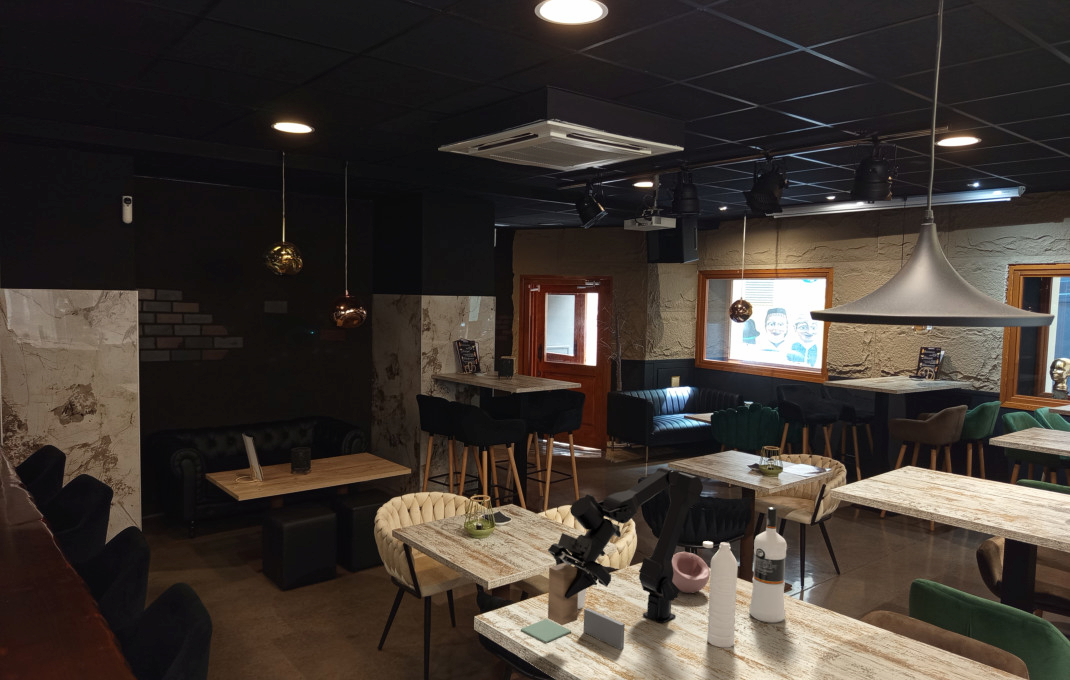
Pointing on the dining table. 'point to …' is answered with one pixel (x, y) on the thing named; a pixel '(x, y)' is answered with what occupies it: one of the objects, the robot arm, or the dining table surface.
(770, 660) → the dining table surface
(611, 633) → the gray rectangular block
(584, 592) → the white short cylinder
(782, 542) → the vodka
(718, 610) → the water bottle
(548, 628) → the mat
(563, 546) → the robot arm
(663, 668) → the dining table surface
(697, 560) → the pink rounded bowl
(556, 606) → the letter block
